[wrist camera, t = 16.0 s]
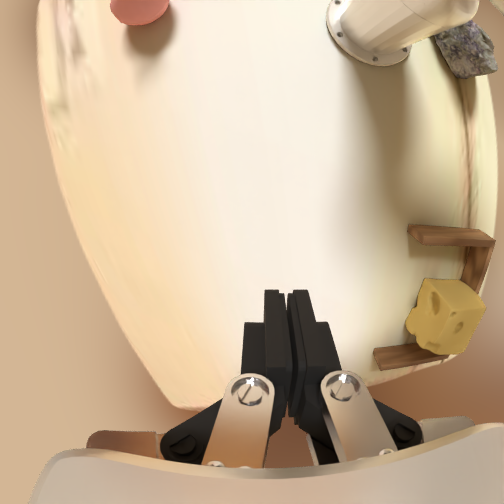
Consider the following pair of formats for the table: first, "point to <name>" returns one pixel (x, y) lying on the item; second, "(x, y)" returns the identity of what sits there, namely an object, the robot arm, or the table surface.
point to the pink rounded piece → (138, 10)
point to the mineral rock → (467, 50)
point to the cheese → (445, 316)
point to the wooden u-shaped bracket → (471, 276)
